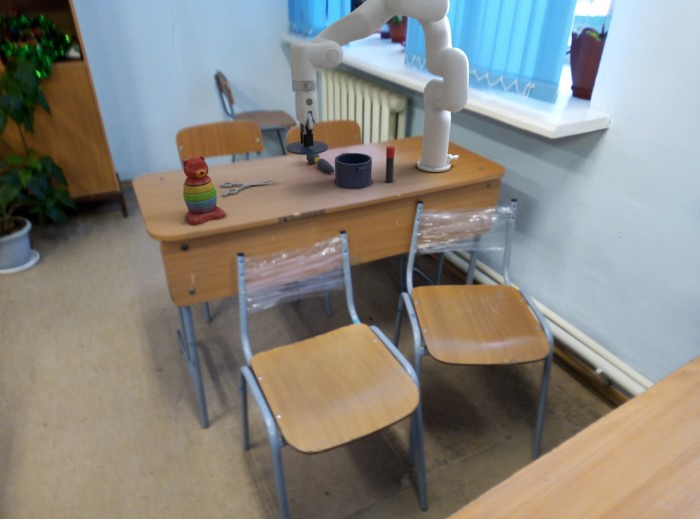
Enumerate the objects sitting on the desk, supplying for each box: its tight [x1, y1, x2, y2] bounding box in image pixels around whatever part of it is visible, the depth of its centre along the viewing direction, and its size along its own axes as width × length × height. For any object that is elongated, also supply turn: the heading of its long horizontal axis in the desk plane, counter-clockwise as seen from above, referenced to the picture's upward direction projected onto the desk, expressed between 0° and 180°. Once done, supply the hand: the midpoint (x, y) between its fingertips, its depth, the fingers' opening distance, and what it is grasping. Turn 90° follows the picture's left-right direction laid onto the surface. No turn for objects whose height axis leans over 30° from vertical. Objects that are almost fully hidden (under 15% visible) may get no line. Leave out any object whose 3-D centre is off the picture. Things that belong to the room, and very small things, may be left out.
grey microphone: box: [305, 153, 335, 174], centre depth 180 cm, size 20×5×5 cm, turn 38°
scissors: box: [221, 178, 277, 197], centre depth 165 cm, size 11×1×20 cm
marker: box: [385, 145, 396, 184], centre depth 165 cm, size 3×3×12 cm
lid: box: [285, 131, 329, 156], centre depth 155 cm, size 14×14×6 cm
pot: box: [334, 152, 373, 190], centre depth 166 cm, size 13×18×8 cm
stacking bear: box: [182, 155, 226, 225], centre depth 140 cm, size 11×10×18 cm
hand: (307, 144), depth 156 cm, fingers closed on lid, 2 cm apart
